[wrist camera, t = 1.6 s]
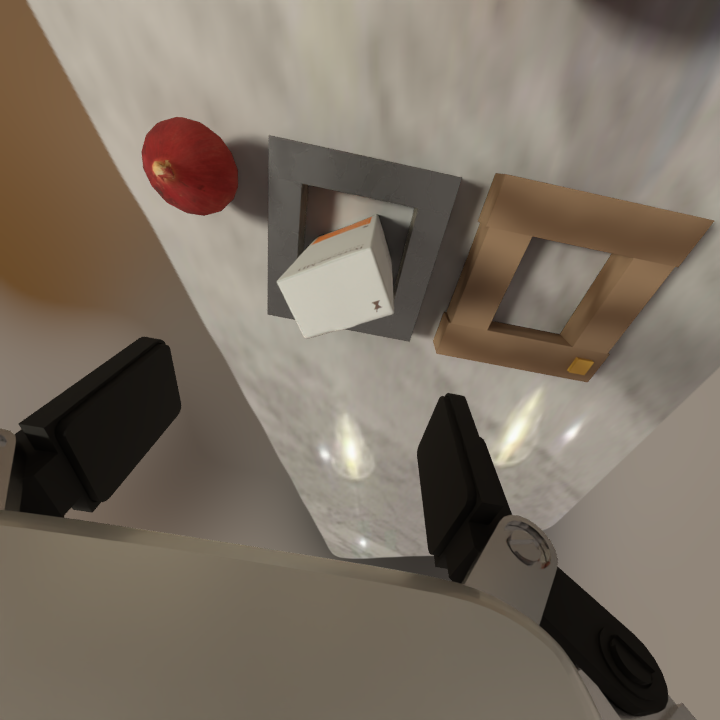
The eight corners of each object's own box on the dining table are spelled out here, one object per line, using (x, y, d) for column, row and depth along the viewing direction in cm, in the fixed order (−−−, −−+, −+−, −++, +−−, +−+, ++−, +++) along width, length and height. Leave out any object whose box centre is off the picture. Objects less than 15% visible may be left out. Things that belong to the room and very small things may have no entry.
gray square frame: (279, 137, 23) (268, 135, 21) (455, 176, 24) (461, 177, 22) (275, 304, 31) (267, 314, 29) (407, 329, 31) (409, 341, 29)
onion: (220, 222, 27) (166, 242, 20) (166, 157, 24) (84, 155, 18) (267, 180, 25) (224, 188, 18) (214, 104, 22) (141, 81, 15)
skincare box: (378, 211, 25) (374, 244, 15) (392, 260, 28) (397, 316, 18) (313, 236, 27) (273, 281, 17) (331, 280, 29) (305, 343, 19)
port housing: (495, 173, 23) (508, 174, 21) (686, 215, 24) (719, 221, 22) (433, 341, 32) (437, 355, 30) (574, 368, 33) (589, 384, 30)
